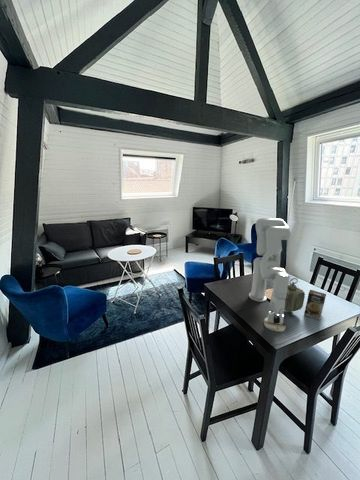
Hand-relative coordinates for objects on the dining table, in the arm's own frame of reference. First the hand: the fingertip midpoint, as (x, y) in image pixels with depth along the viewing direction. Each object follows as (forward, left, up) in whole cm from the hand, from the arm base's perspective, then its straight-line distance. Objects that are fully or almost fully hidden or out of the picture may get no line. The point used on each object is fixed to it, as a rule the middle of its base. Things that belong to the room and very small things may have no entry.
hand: (275, 320), depth 124 cm
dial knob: (0, +1, -1) cm, 1 cm away
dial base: (0, 0, -3) cm, 3 cm away
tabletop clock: (-14, +14, -4) cm, 20 cm away
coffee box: (-13, +29, -4) cm, 32 cm away
